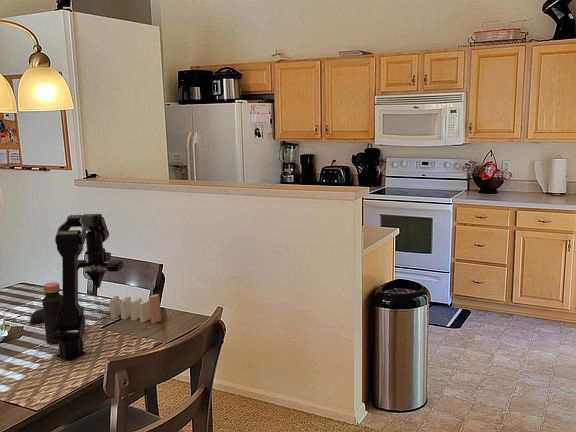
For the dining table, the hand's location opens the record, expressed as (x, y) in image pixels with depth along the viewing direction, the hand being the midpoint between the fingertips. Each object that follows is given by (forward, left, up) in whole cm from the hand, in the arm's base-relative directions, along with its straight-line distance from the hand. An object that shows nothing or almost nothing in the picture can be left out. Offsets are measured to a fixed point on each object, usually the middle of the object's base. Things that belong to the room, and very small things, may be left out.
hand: (98, 287), depth 212 cm
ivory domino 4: (+6, -18, -11) cm, 22 cm away
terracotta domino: (+6, -23, -11) cm, 26 cm away
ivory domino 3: (+5, -14, -11) cm, 19 cm away
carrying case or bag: (-11, +14, -12) cm, 21 cm away
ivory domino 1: (+3, -5, -11) cm, 13 cm away
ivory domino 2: (+4, -9, -11) cm, 15 cm away
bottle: (-23, -6, -11) cm, 26 cm away
